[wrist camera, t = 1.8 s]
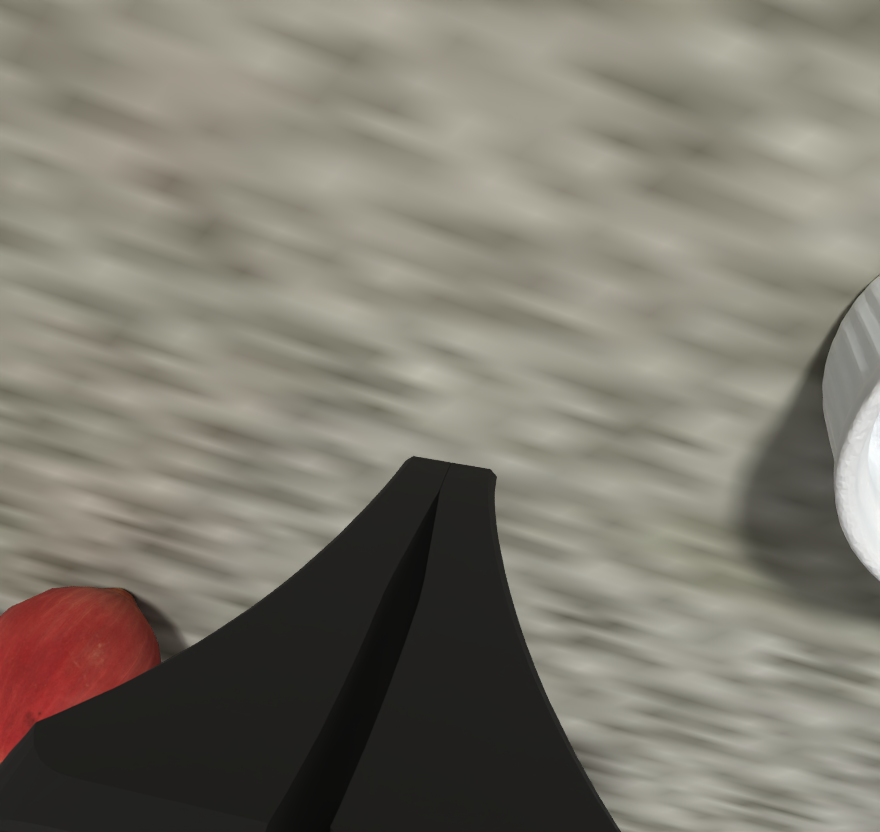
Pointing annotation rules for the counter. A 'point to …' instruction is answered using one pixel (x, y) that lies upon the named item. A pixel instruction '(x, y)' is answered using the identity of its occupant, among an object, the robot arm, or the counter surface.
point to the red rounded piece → (67, 653)
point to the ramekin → (856, 424)
